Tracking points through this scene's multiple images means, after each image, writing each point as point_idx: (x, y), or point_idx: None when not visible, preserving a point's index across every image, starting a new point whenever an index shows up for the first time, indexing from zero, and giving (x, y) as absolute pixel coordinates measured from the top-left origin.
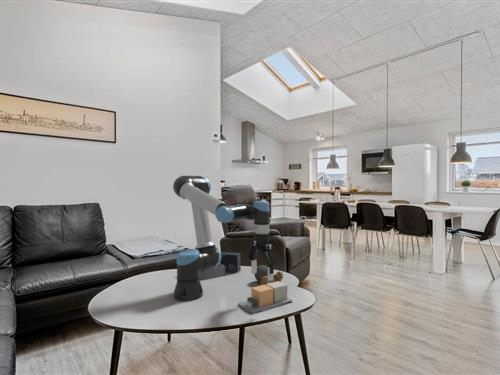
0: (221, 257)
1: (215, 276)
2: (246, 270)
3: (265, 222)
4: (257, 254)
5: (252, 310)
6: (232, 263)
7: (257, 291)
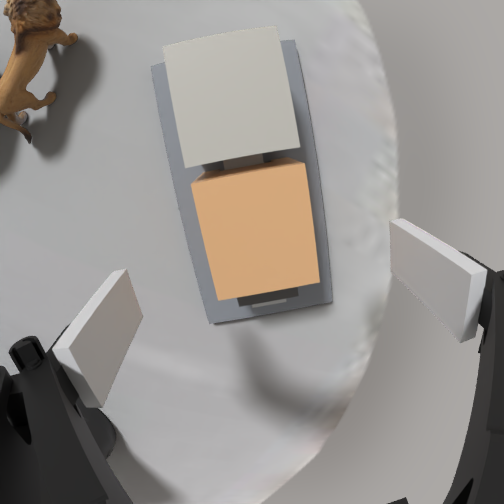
0: None
1: None
2: None
3: None
4: (80, 438)
5: (321, 295)
6: None
7: (293, 285)
